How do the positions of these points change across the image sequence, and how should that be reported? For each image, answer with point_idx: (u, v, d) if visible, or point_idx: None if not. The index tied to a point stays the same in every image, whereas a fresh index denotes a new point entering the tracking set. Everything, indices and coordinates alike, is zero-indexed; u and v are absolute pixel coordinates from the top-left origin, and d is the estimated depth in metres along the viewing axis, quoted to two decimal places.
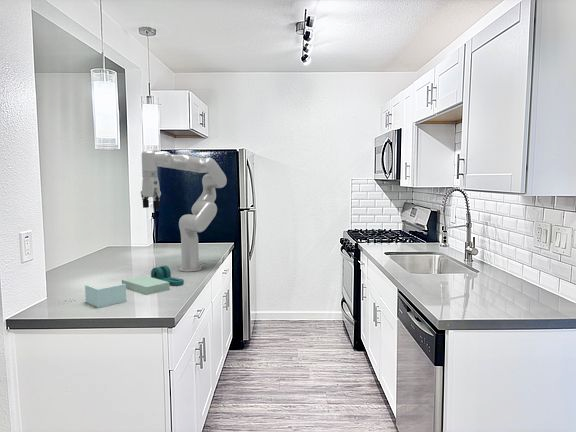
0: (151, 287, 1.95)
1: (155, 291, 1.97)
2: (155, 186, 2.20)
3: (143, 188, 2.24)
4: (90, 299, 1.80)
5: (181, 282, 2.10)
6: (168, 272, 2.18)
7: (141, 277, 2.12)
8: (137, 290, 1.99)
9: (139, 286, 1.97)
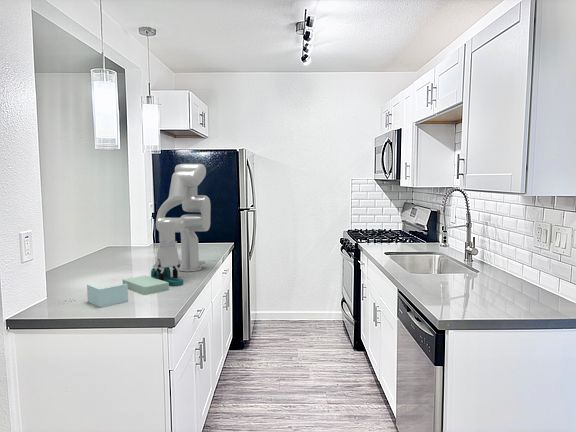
0: (150, 287, 1.95)
1: (154, 291, 1.97)
2: None
3: (165, 259, 2.10)
4: (92, 298, 1.80)
5: (180, 282, 2.10)
6: (168, 272, 2.18)
7: (142, 277, 2.12)
8: (136, 290, 1.99)
9: (138, 286, 1.97)
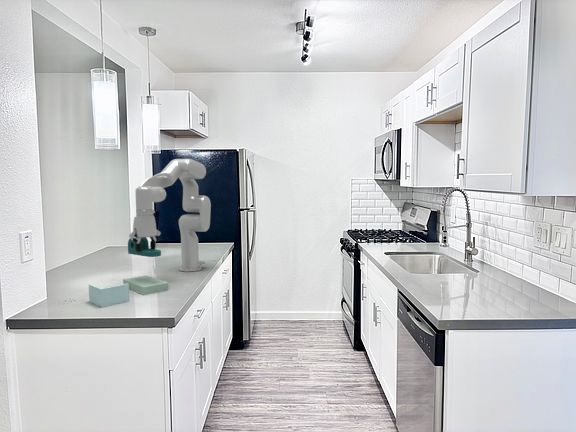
0: (149, 287, 1.95)
1: (153, 291, 1.96)
2: None
3: (142, 228, 2.00)
4: (93, 298, 1.80)
5: (158, 252, 1.99)
6: (146, 243, 2.07)
7: (143, 277, 2.13)
8: (136, 290, 1.99)
9: (137, 286, 1.97)
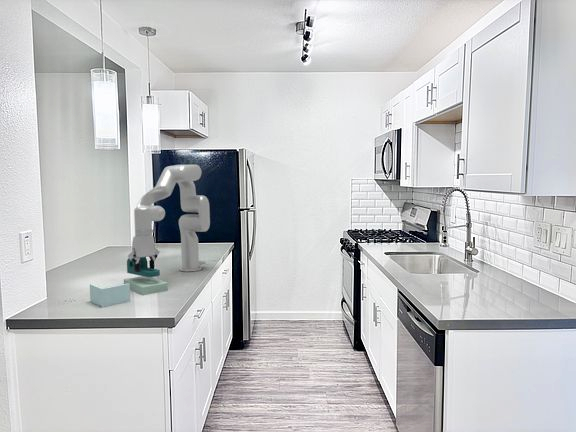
0: (148, 287, 1.95)
1: (152, 291, 1.96)
2: None
3: (141, 248, 2.00)
4: (94, 298, 1.81)
5: (156, 272, 1.99)
6: (145, 262, 2.07)
7: (143, 277, 2.13)
8: (135, 290, 1.99)
9: (137, 286, 1.97)
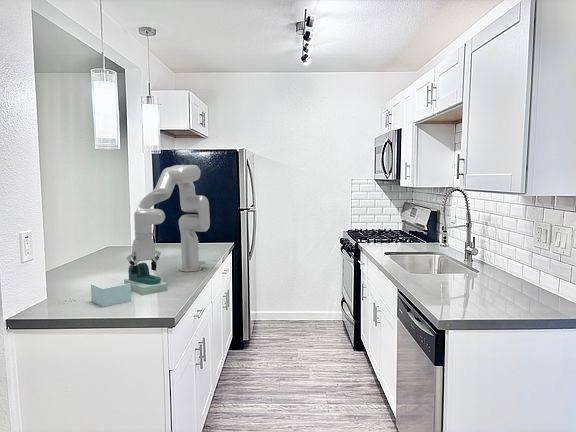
0: (147, 288, 1.95)
1: (152, 292, 1.96)
2: None
3: (141, 252, 2.00)
4: (95, 298, 1.81)
5: (157, 280, 2.00)
6: (146, 269, 2.08)
7: None
8: (135, 290, 1.99)
9: (137, 286, 1.97)
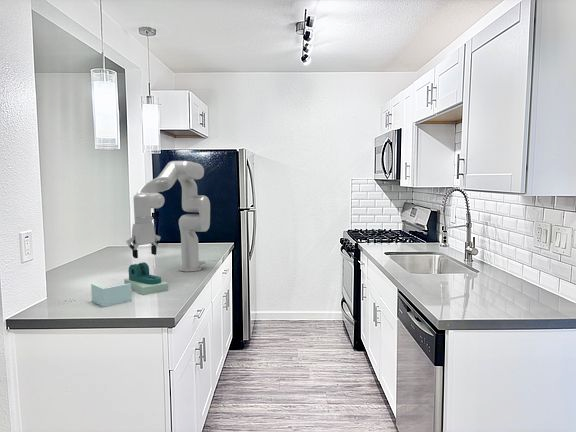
0: (148, 288, 1.95)
1: (153, 292, 1.96)
2: None
3: (141, 236, 2.00)
4: (96, 297, 1.81)
5: (158, 280, 2.00)
6: (146, 269, 2.08)
7: None
8: (136, 290, 1.99)
9: (137, 286, 1.97)
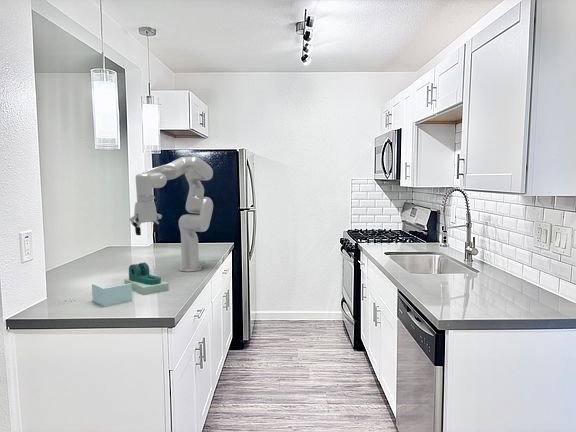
0: (149, 288, 1.95)
1: (153, 292, 1.96)
2: None
3: (143, 214, 2.07)
4: (96, 297, 1.81)
5: (157, 280, 1.99)
6: (146, 269, 2.08)
7: None
8: (136, 290, 1.99)
9: (138, 286, 1.97)
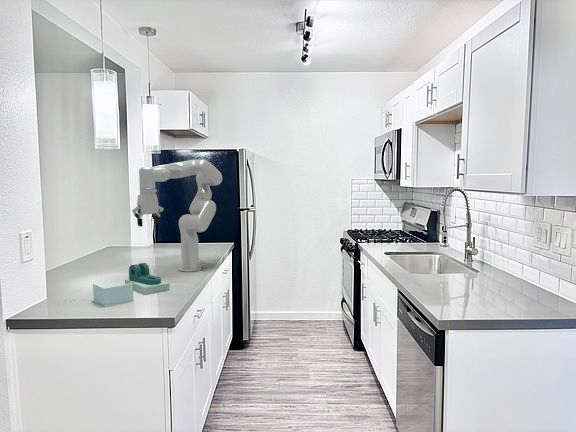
0: (150, 288, 1.95)
1: (154, 292, 1.96)
2: None
3: (145, 205, 2.15)
4: (97, 297, 1.81)
5: (157, 280, 1.99)
6: (146, 270, 2.07)
7: None
8: (137, 290, 1.99)
9: (139, 286, 1.97)
